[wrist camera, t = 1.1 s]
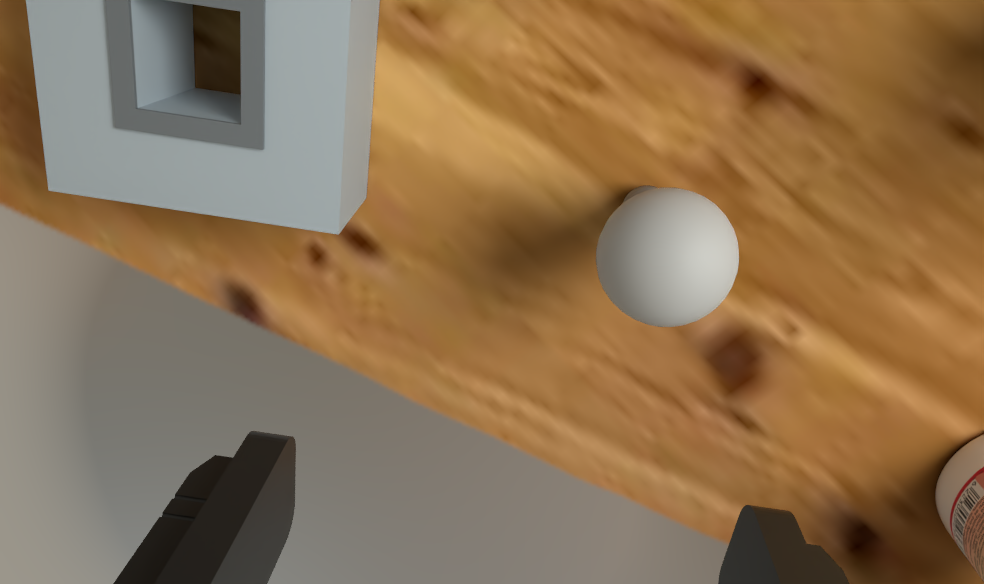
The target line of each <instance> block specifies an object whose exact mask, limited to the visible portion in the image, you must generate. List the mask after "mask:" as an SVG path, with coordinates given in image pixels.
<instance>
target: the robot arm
mask: <svg viewBox="0 0 984 584" xmlns="http://www.w3.org/2000/svg"><path fill="white" fill-rule="evenodd" d="M295 455H296V444H295V439H294V438H293V437H291V436H284V435H277V434H270V433H264V432H257V431H251V432H250V433H249V434H248V435H247V437H246V438H245V440H244V441H243V443H242V445H241V446H240V448H239V449H238V451H237V453H236V454H235V456H234V457H233V458H231V457H224V456H216V455H215V456H214V457H212V458H211V459H209V460H208V461H206V462H205V463H204V464H202V465H200V466H199V467H198V468H196V469H195V470H193V471H192V472H191V473H190V474H189V475H188V477H187V478H186V480H185V481H184V483H183V484H182V485H181V487H180V488H179V490H178V491H177V493H176V494H175V498H174V499H172V500H171V501H170V503H169V504H168V506H167V507H166V509H165V510H164V511H163V515H162V517H159V519H158V520H157V522H156V523H155V524H154V526H153V527H152V529H151V530H150V532H149V533H148V534H147V536H146V537H145V539H144V540H143V542H142V543H141V545H140V546H139V547H138V549H137V550H136V552H135V553H134V555H133V556H132V558H131V559H130V561H129V562H128V563H127V565H126V566H125V568H124V569H123V571H122V572H121V574H120V575H119V576H118V578H117V579H116V581H115V582H114V584H267V583H268V581H269V578H270V576H271V574H272V571H273V569H274V567H275V565H276V563H277V560H278V558H279V556H280V554H281V551H282V549H283V547H284V545H285V543H286V540H287V538H288V535H289V531H290V528H291V524H292V520H293V515H294V507H295V457H296V456H295ZM718 584H849V582H848V580H847V578H846V576H845V574H844V572H843V570H842V569H841V568H840V567H839V566H838V565H837V564H836V563H835V561H834V560H833V559H832V558H831V557H830V556H829V555H828V554H827V553H826V552H825V551H824V550H823V549H822V547H821V546H817V545H811V544H806V542H805V539H804V537H803V535H802V532H801V530H800V528H799V526H798V523H797V521H796V519H795V517H794V515H793V514H792V513H791V512H790V511H785V510H778V509H771V508H764V507H758V506H751V505H746V506H744V507H743V509H742V510H741V512H740V515H739V518H738V520H737V523H736V526H735V529H734V532H733V535H732V538H731V541H730V543H729V546H728V549H727V552H726V555H725V558H724V561H723V564H722V566H721V570H720V575H719V583H718Z"/></svg>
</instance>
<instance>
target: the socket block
mask: <svg viewBox="0 0 984 584" xmlns="http://www.w3.org/2000/svg"><path fill="white" fill-rule="evenodd" d="M379 3H380V0H26V5H27V14H28V22H29V31H30V39H31V47H32V56H33V64H34V73H35V81H36V89H37V98H38V106H39V115H40V123H41V131H42V140H43V148H44V156H45V165H46V173H47V182H48V190H49V191H54V192H61V193H67V194H74V195H81V196H87V197H94V198H101V199H107V200H114V201H120V202H127V203H134V204H140V205H147V206H154V207H160V208H167V209H173V210H180V211H187V212H193V213H200V214H207V215H213V216H220V217H226V218H233V219H240V220H246V221H253V222H260V223H266V224H273V225H279V226H286V227H293V228H299V229H306V230H313V231H319V232H326V233H332V234H339V233H340V232H341V231H342V229H343V228H344V227H345V225H346V224H347V223H348V221H349V220H350V219H351V217H352V216H353V215H354V214H355V212H356V211H357V210H358V208H359V207H360V206H361V204H362V203H363V202H364V200H365V199H366V196H367V181H368V166H369V151H370V136H371V122H372V107H373V92H374V77H375V62H376V47H377V33H378V18H379ZM193 4H194V5H201V6H207V7H214V8H221V9H227V10H234V11H240V33H241V95H240V94H233V93H227V92H220V91H213V90H207V89H200V88H195V65H194V33H193Z"/></svg>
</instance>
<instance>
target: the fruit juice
mask: <svg viewBox="0 0 984 584" xmlns="http://www.w3.org/2000/svg"><path fill="white" fill-rule="evenodd" d="M935 499H936V506H937V510H938V513H939V516H940V518H941V520H942V522H943V524H944V526H945V528H946V529H947V531H948V532H949V534H950V535H951V537H952V538H953V539H954V541H955V542H956V544H957V545H958V546H959V548H960V549H961V551H962V552H963V554H964V555H965V556H966V558H967V559H968V561H969V562H970V563H971V565H972V566H973V568H974V569H975V570H976V572H977V573H978V575H979V576H980V577H981V579H982V580H983V582H984V434H983V435H981V436H979V437H977V438H975V439H974V440H972V441H970V442H969V443H968V444H966V445H965V446H963V447H962V448H961V449H960V450H959V451H958V452H956V453H955V454H954V455H953V456H952V458H951V459H950V460H949V461H948V462H947V464H946V465H945V467H944V468H943V470H942V472H941V474H940V476H939V479H938V482H937V485H936V494H935Z"/></svg>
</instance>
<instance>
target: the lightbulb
mask: <svg viewBox="0 0 984 584" xmlns="http://www.w3.org/2000/svg"><path fill="white" fill-rule="evenodd" d="M596 264H597V270H598V276H599V279H600V282H601V284H602V287H603V289H604V291H605V292H606V294H607V295H608V297H609V298H610V300H611V301H612V302H613V303H614V304H615V305H616V306H617V307H618V308H619V309H620V310H621V311H622V312H624V313H625V314H627V315H628V316H630V317H632V318H633V319H635V320H638V321H640V322H643V323H645V324H648V325H653V326H658V327H674V326H680V325H685V324H688V323H691V322H694V321H697V320H699V319H701V318H702V317H704V316H706V315H708V314H709V313H710V312H712V311H713V310H714V309H715V308H717V307H718V306H719V305H720V303H721V302H722V301H723V300H724V299H725V298H726V296H727V294H728V293H729V291H730V289H731V288H732V285H733V283H734V280H735V277H736V274H737V271H738V264H739V251H738V241H737V238H736V235H735V231H734V229H733V227H732V225H731V223H730V222H729V220H728V218H727V217H726V216H725V214H724V213H723V212H722V211H721V210H720V209H719V208H718V207H717V206H716V204H714V203H713V202H711V201H710V200H708V199H707V198H705V197H704V196H701V195H699V194H697V193H694V192H692V191H688V190H684V189H679V188H656V187H654V186H640V187H638V188H635V189H634V190H632V191H631V192H630V193H628V195H627V196H626V197H625V199H624V201H623V204H622V205H620V206H619V207H618V208H617V209H616V210H615V211H614V212H613V214H612V215H611V216H610V218H609V219H608V220H607V222H606V224H605V226H604V228H603V230H602V232H601V234H600V236H599V240H598V244H597V248H596Z"/></svg>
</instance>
